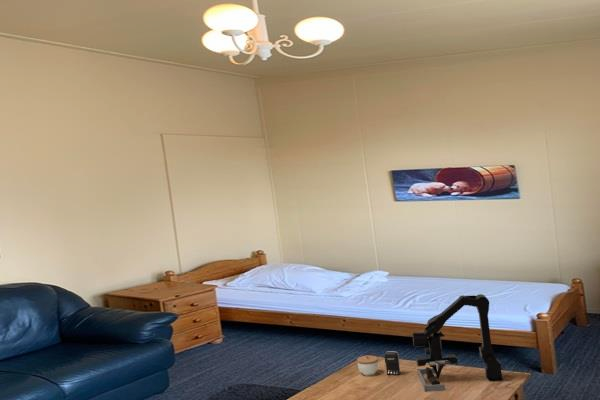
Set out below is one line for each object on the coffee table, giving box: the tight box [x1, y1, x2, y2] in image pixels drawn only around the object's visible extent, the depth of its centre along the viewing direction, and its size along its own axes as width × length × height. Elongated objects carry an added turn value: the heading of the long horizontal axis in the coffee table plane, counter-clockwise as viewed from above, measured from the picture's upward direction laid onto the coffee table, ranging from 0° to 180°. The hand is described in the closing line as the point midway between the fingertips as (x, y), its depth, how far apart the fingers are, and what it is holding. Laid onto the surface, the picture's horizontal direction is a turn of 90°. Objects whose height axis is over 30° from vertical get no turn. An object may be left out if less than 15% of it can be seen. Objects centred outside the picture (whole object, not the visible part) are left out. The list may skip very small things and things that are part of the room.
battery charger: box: [384, 350, 401, 376], centre depth 296 cm, size 7×4×11 cm, turn 70°
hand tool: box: [425, 366, 441, 385], centre depth 281 cm, size 19×4×5 cm, turn 177°
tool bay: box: [417, 367, 446, 392], centre depth 281 cm, size 9×24×2 cm, turn 177°
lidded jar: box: [356, 354, 379, 377], centre depth 300 cm, size 11×11×9 cm
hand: (438, 377), depth 281 cm, fingers closed
